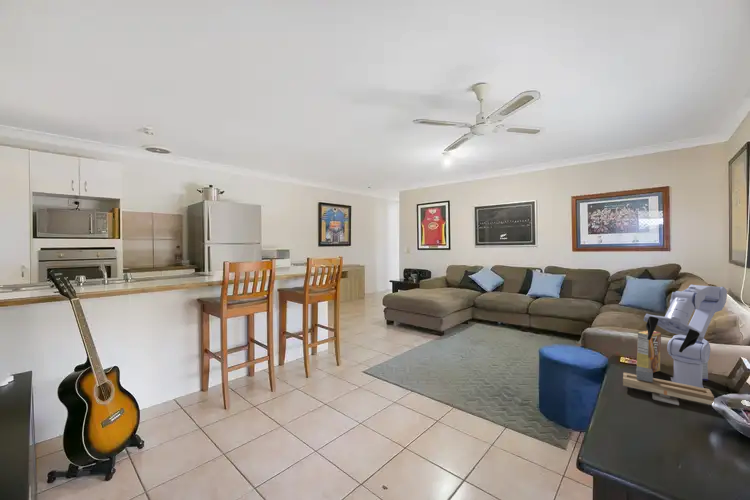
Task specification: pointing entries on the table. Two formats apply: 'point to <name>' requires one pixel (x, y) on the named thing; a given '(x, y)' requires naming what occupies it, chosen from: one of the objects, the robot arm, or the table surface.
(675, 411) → the table surface
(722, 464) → the table surface
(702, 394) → the tan slotted track
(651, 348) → the candy box
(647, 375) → the block
